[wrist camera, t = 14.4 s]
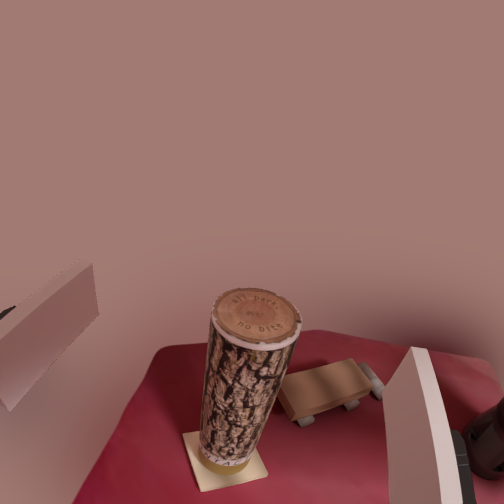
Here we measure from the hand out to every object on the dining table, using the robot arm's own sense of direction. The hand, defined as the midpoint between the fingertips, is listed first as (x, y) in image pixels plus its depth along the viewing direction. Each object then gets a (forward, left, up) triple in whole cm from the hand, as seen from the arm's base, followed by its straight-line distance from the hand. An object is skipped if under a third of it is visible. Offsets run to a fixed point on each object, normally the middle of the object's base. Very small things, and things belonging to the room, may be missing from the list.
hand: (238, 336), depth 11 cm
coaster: (-5, -8, -32) cm, 33 cm away
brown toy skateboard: (-26, -13, -32) cm, 43 cm away
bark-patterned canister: (-5, -8, -31) cm, 33 cm away
